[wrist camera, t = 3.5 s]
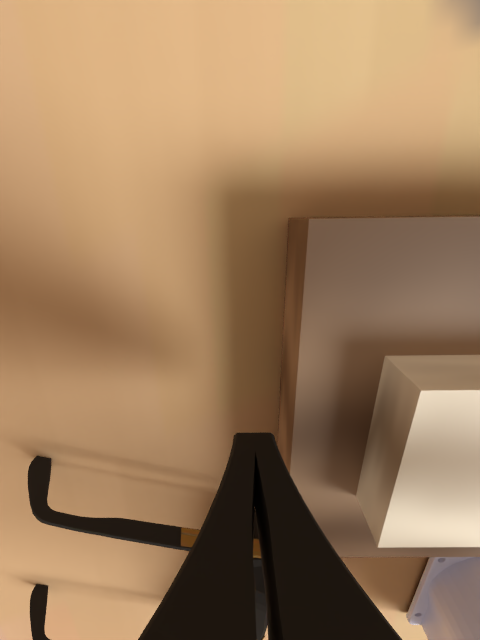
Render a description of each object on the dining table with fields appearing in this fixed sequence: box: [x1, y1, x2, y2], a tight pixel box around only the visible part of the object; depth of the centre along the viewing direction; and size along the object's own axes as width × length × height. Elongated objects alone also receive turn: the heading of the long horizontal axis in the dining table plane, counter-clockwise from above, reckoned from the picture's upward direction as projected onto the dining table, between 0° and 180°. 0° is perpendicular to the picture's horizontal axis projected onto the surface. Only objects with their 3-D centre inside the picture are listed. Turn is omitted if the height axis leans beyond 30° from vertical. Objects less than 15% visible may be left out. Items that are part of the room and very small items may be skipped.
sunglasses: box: [28, 456, 268, 640], centre depth 17 cm, size 14×15×5 cm
